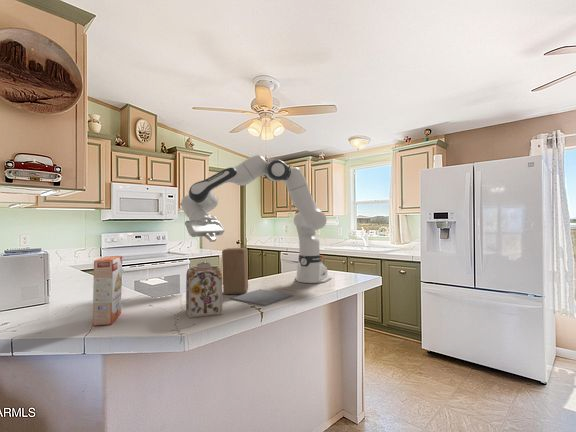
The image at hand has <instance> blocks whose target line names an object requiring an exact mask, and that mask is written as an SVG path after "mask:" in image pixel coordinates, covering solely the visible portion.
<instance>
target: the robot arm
mask: <svg viewBox="0 0 576 432" xmlns="http://www.w3.org/2000/svg"><path fill="white" fill-rule="evenodd" d="M261 176H264V177H265V178H266V179H267V180H269V181H271V182H279V181H282V182H284V184H285V186H286V188H287V191H288V194H289V196H290V200H291V202H292V205H293V206H295V208H296V209H297V210H298V212H297V213H296V214H295V215H294V217H293V223H294V225H295V226H296V231H297V234H298V235H297V236H298V240H299V241H298V242H299V244H298V246H299V254H298V264H297V265H296V276H295V277H294V280H296V281H297V282H299V283H305V284H306V283H307V284H316V283H323V284H324V283H326V282H327V281H330V280H331V279H333V278H332V276H330V275H328V267H327V266H326V265H324V263H323V262H322V260H323V259H324V255H322V254H320V239H319V237H318V236H317V232H316V231H319V230H321V229H323V228H324V227H325V226H326V224H327V216H326V214H325V213H324V212H323V211H322V210H321V209H320V208H319V206H318V205H317V203H316V201H315V200H314V198H313V196H312V193H311V190H310V187H309V185H308V182H307V179H306V177H305V176H304V174H303V172H302V170H301V169H300V167H297V166H292V167H290V166H289V165H288V164H286V162H285V161H283V160H281V159H273V160H271V161H267V160H266V159H265V157H263V156H262V155H259V154H256V155H253V156H251V157H249V158H247V159H245V160H243V161H242V162H241V163H239V164H238V165H235V166H232V167H227V168H225V169H222V170H221V171H218V172H217V173H215V174H213V175H211V176H210V177H207V178H206V179H205V178H204V179H203V180H199V181H197V182H195V183H193V184H192V185H191V186H190V187H189V190H188V194H187V195H185V196H183V198H182V199H181V202H180V204H181V208H182V210H183V213H184V214H185V216H186V217H188V219H189V220H186V221H185V222H184V226H185V227H186V230H187V233H188V234H189V236H190V237H192V238H198V237H199V238H200V237H204V238H205V239H207V240H209V242H213V243H214V242H216V241H217V238H216V236H222V235H223V234H224V232H225V228H224V226H223V225H222V223H221V222H220V221H219V220H218V217H217V216H215V215H212V214H209V212H211V211H212V210H214V209H215V208H216V207H217V206H218V203H219V199H218V197H217V196H216V194H215V193H214V192H213V190H215V189H217V188H218V187H220V186H222V185H224V184H227V183H232V184H234V185H238V186H240V187H241V186H247V185H249V184H251V183H252V182H253V181H255V180H257V178H259V177H261Z"/></svg>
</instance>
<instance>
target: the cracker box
mask: <svg viewBox="0 0 576 432" xmlns="http://www.w3.org/2000/svg"><path fill="white" fill-rule="evenodd" d="M122 278H123V256H122V255H108V256H107V255H106V256H103V257H100V258H98V259H95V260H93V287H92V288H93V293H92V294H93V295H92V296H93V297H92V326H93V327H95V326H108V325H109V326H110V325H113V323H114V322H115V321H116V319H118V317H119V316H120V314H121V313H122V291H123V290H122V288H123V287H122V284H123V283H122V282H123V281H122V280H123V279H122Z"/></svg>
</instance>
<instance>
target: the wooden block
mask: <svg viewBox="0 0 576 432" xmlns="http://www.w3.org/2000/svg"><path fill="white" fill-rule="evenodd" d="M221 254H222V255H221V257H222V258H221V259H222V261H221V262H222V293H223V294H224V295H241V294H245V293H247V291H248V290H249V276H248V273H249V272H248V270H249V269H248V249H247V247H237V248H236V247H234V248H233V247H232V248H231V247H230V248H225V249H223V250H222V252H221Z"/></svg>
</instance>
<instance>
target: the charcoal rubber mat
mask: <svg viewBox="0 0 576 432" xmlns="http://www.w3.org/2000/svg"><path fill="white" fill-rule="evenodd" d="M293 296H294V294H292V293H285V292H279V291H275V290H274V291H273V290H267V289H261V288H258V289H256V290H253V291H249V292H245V293H244V294H237V295H235V296H231V297H229V300H232V301H238V302H243V303H248V304H251V305H252V304H253V305H258V306H263V307H266V306H268V305H272V304H273V303H277V302H280V301H283V300H286V299H288V298H292V297H293Z"/></svg>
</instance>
